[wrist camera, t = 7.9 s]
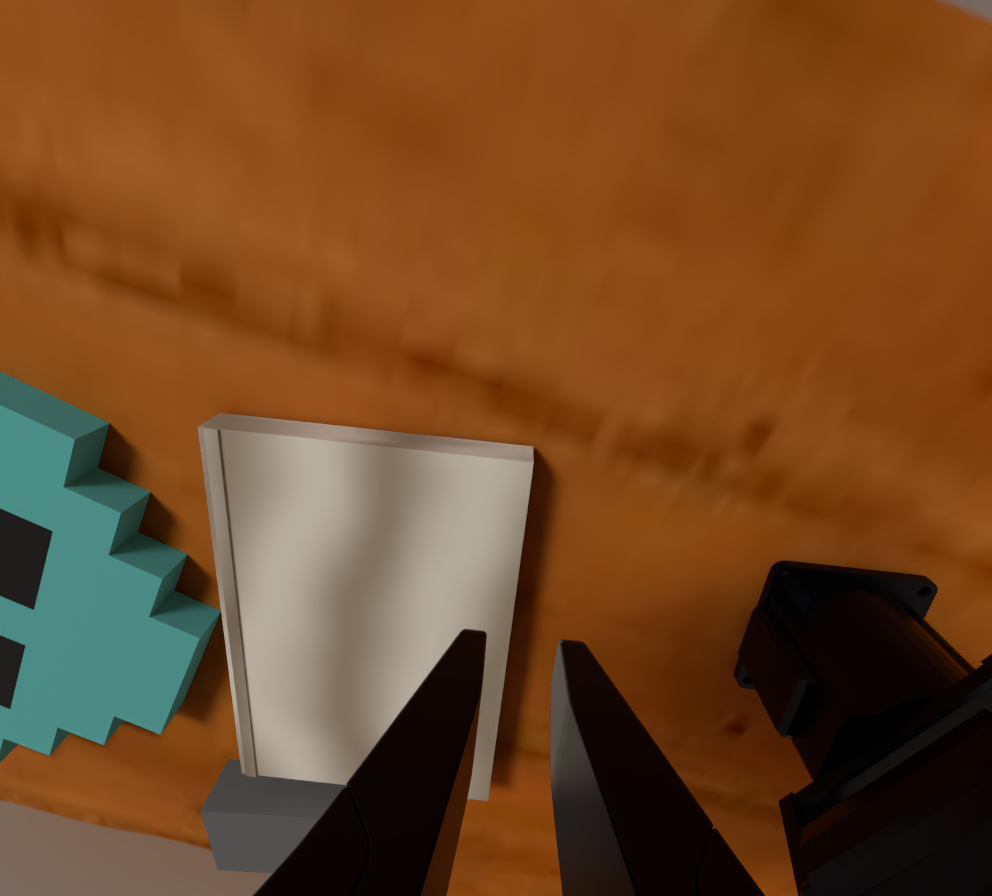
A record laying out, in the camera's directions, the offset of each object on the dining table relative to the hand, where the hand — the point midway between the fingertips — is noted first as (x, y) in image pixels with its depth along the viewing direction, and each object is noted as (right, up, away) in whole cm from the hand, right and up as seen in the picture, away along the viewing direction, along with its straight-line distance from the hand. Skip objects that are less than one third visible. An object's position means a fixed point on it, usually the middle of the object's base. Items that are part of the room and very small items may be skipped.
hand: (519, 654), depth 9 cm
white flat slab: (-6, -4, +15) cm, 16 cm away
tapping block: (-10, -15, +20) cm, 27 cm away
